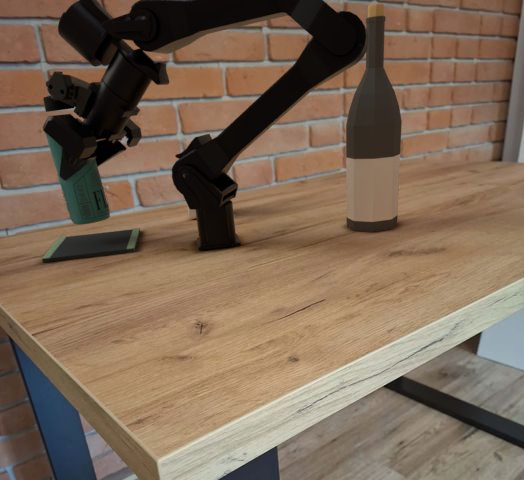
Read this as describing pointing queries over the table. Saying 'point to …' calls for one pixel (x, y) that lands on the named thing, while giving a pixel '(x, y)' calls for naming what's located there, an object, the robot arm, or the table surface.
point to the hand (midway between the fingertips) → (73, 175)
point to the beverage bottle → (79, 181)
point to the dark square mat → (93, 245)
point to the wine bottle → (373, 140)
